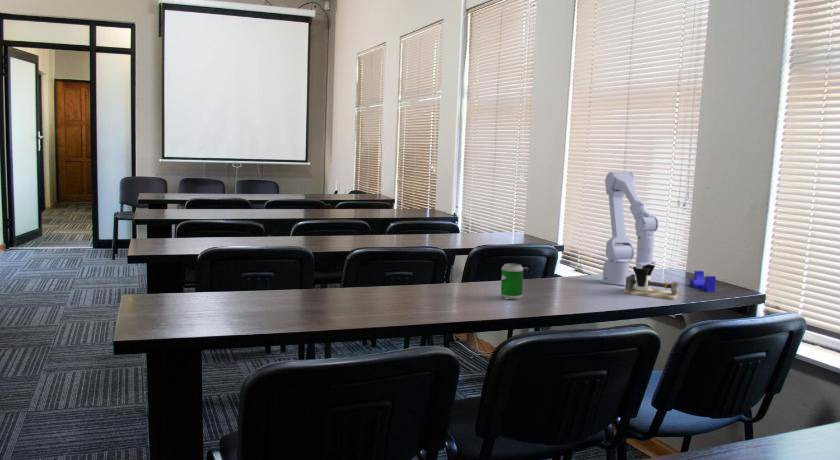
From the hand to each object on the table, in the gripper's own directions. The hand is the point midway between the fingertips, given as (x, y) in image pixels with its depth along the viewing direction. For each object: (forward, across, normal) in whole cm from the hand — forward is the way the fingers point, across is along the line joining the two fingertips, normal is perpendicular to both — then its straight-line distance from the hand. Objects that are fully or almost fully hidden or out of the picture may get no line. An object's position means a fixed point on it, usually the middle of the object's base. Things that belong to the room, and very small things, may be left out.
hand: (643, 285), depth 242 cm
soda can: (+3, -37, +36) cm, 52 cm away
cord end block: (+2, 0, 0) cm, 2 cm away
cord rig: (+3, 0, -3) cm, 4 cm away
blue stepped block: (+3, +22, -16) cm, 27 cm away
